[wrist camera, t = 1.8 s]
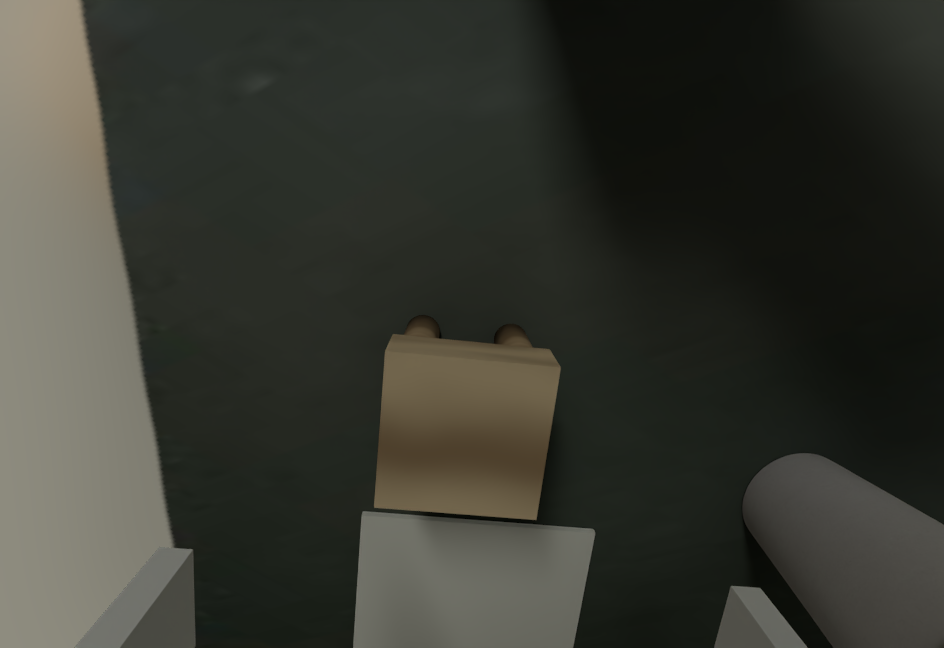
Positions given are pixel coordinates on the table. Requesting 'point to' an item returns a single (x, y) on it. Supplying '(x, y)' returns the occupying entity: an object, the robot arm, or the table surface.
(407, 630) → the mat
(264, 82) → the table surface
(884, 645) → the coffee cup
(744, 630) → the robot arm
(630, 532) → the table surface
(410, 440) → the wooden stool
